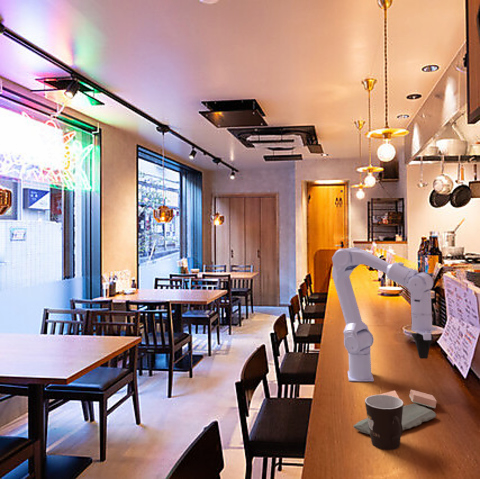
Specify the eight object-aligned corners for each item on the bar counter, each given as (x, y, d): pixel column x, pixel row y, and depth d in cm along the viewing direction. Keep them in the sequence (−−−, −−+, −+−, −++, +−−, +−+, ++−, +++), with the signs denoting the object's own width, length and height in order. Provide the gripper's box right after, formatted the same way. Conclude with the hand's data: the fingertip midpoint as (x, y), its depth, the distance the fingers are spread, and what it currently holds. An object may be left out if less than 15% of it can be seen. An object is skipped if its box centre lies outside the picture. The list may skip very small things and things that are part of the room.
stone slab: (439, 422, 116) (407, 406, 124) (440, 412, 116) (407, 397, 124) (380, 447, 104) (349, 427, 113) (381, 436, 104) (349, 417, 113)
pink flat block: (410, 389, 128) (413, 394, 122) (432, 395, 127) (436, 401, 121) (409, 396, 128) (412, 401, 122) (431, 402, 127) (435, 408, 121)
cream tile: (374, 395, 129) (377, 403, 123) (395, 390, 128) (399, 398, 122) (376, 402, 129) (380, 410, 123) (397, 397, 128) (401, 405, 122)
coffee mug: (366, 433, 110) (365, 393, 110) (403, 436, 107) (402, 395, 107) (366, 457, 99) (364, 412, 99) (407, 461, 96) (405, 415, 96)
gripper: (441, 318, 126) (443, 365, 127) (429, 308, 140) (431, 351, 141) (415, 318, 128) (417, 365, 128) (406, 309, 142) (408, 351, 142)
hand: (423, 357), depth 134 cm, fingers closed
